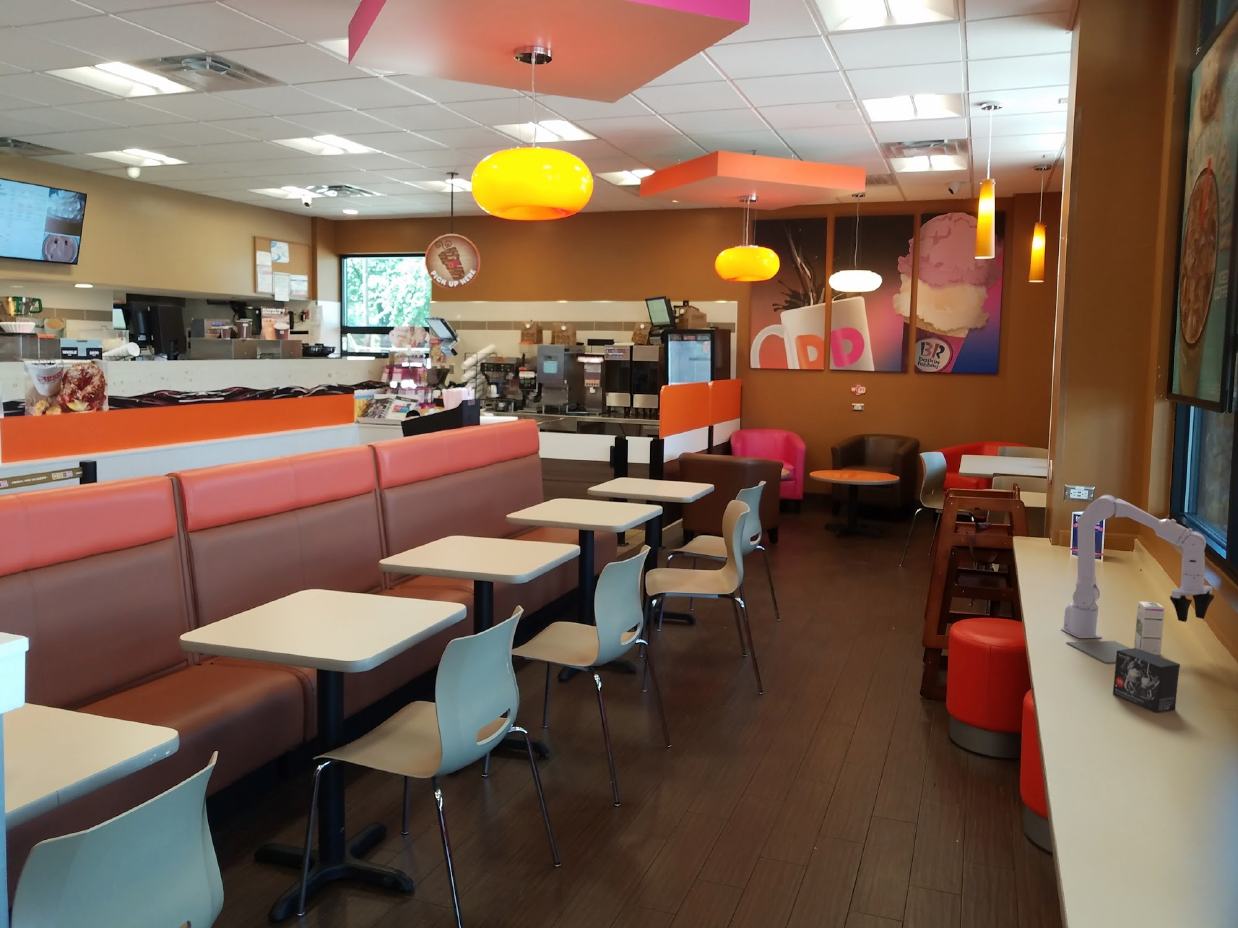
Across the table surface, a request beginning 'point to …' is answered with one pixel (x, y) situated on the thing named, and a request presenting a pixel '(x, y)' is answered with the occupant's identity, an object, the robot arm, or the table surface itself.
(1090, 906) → the table surface
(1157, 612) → the syrup box
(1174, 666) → the small box
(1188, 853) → the table surface
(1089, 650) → the grey mat
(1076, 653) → the table surface
